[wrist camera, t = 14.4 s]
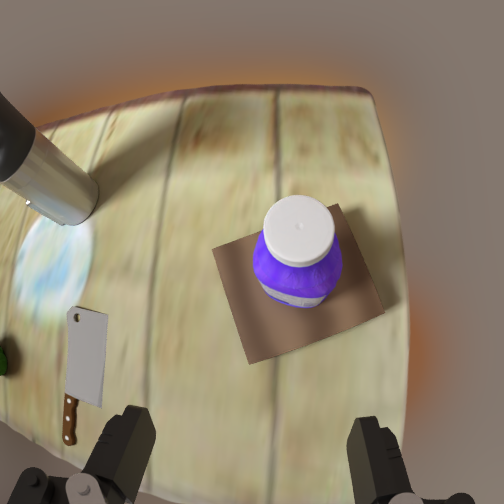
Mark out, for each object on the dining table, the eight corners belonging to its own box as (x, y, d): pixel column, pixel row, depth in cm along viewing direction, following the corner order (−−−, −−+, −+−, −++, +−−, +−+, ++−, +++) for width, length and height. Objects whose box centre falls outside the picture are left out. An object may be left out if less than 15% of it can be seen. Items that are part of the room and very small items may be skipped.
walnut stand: (254, 361, 35) (249, 364, 31) (220, 257, 40) (211, 249, 36) (376, 315, 35) (385, 312, 31) (334, 216, 39) (337, 203, 35)
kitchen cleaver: (100, 463, 33) (53, 437, 34) (103, 461, 34) (56, 436, 35) (119, 316, 39) (69, 300, 40) (122, 317, 40) (72, 301, 41)
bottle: (334, 266, 33) (368, 196, 17) (322, 315, 32) (349, 291, 15) (272, 250, 35) (250, 169, 18) (258, 298, 33) (219, 256, 17)
